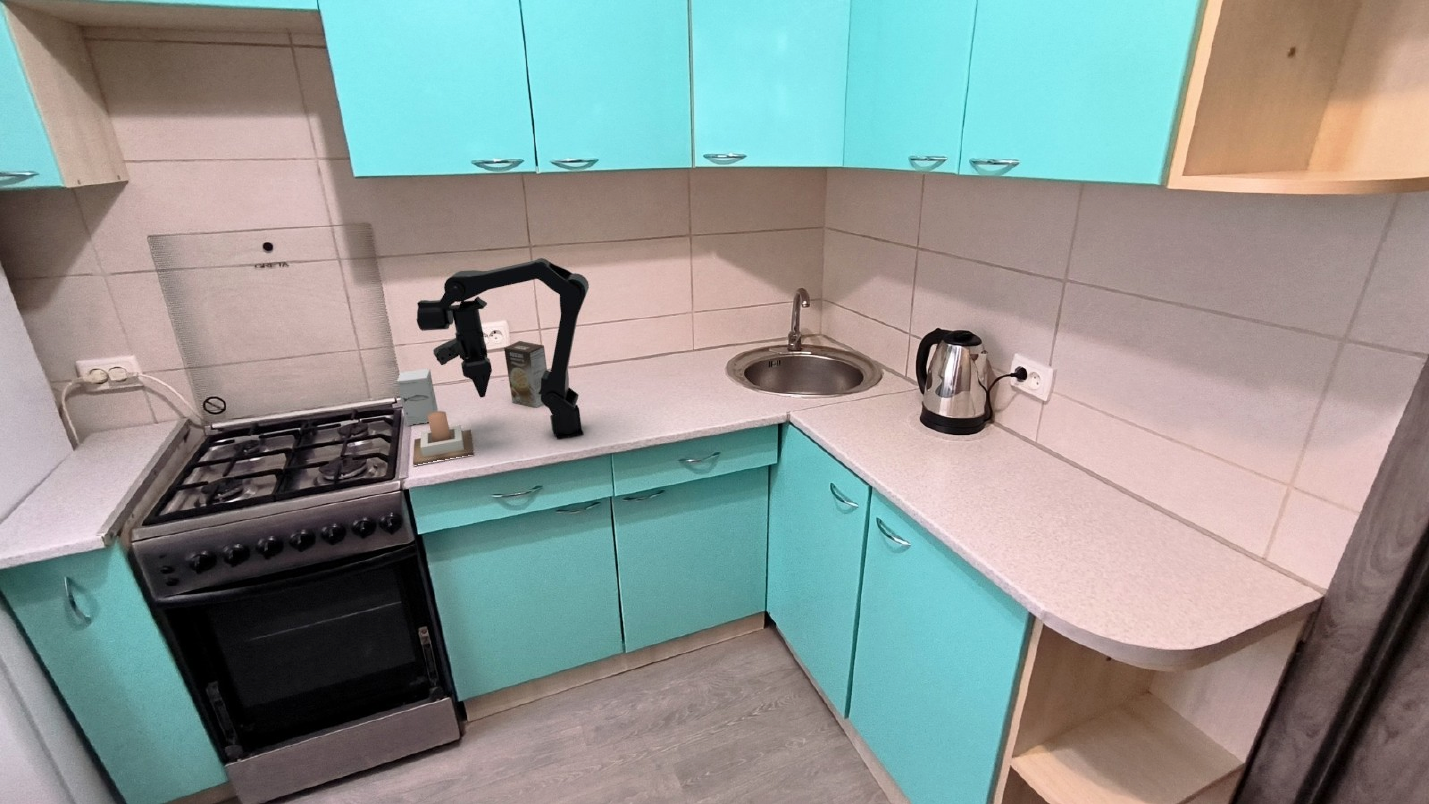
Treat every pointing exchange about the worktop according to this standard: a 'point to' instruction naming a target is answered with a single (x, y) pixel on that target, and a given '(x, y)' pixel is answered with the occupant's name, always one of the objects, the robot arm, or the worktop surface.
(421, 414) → the supplement box
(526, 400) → the coffee box
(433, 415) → the terracotta pin
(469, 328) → the robot arm
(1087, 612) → the worktop surface
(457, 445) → the board
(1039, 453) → the worktop surface
